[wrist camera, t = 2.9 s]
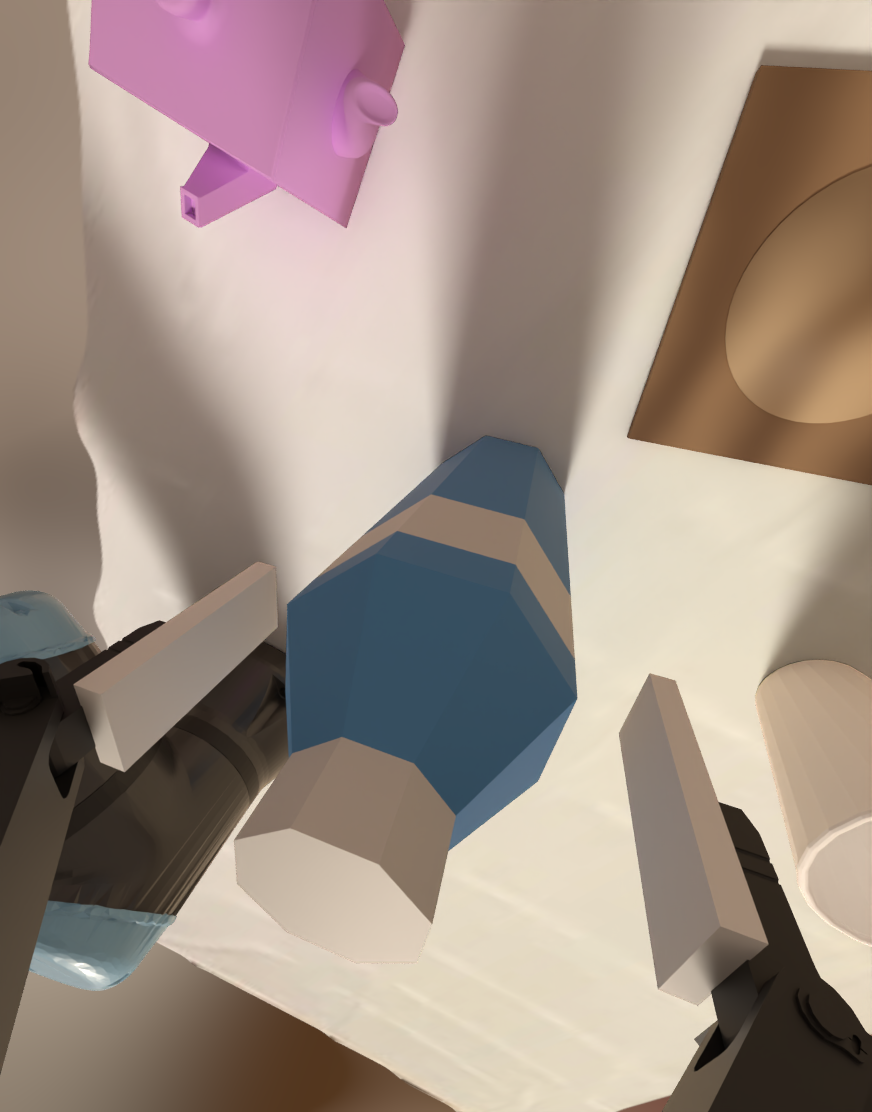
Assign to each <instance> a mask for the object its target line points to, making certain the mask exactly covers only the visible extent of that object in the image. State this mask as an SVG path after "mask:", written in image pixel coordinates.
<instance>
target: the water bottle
mask: <svg viewBox="0 0 872 1112" xmlns="http://www.w3.org/2000/svg"><path fill="white" fill-rule="evenodd" d="M285 693H286V713H287V733H288V753H289V759H288V760H287V762H286V763H285V765H284V766H283V768H282V769H281V771H280V772H279V774H278V775H277V777H276V778H275V780H274V781H273V783H272V784H271V786H270V787H269V789H268V790H267V792H266V793H265V795H264V796H263V798H262V799H261V801H260V802H259V804H258V805H257V807H256V808H255V810H254V811H253V813H252V814H251V816H250V817H249V819H248V820H247V822H246V823H245V825H244V826H243V828H242V829H241V831H240V832H239V834H238V835H237V837H236V838H235V840H234V847H235V861H236V874H237V884H238V885H239V886H240V887H241V888H242V889H243V890H244V891H245V892H246V893H247V894H248V895H249V896H250V897H251V898H252V899H253V900H254V901H255V902H256V903H257V904H258V905H259V906H260V907H261V908H262V909H263V910H264V911H265V912H267V913H268V914H269V915H270V916H271V917H272V918H273V919H274V920H275V921H276V922H277V923H278V924H279V925H280V926H281V927H282V928H283V929H284V930H285V931H286V932H288V933H290V934H292V935H294V936H297V937H299V938H301V939H303V940H306V941H308V942H310V943H312V944H314V945H317V946H319V947H321V948H323V949H325V950H328V951H330V952H332V953H334V954H337V955H339V956H341V957H343V958H345V959H348V960H350V961H352V962H354V963H417V962H418V960H419V957H420V955H421V952H422V949H423V947H424V944H425V942H426V939H427V936H428V934H429V931H430V929H431V926H432V923H433V918H434V914H435V909H436V904H437V900H438V895H439V891H440V886H441V882H442V877H443V872H444V868H445V863H446V859H447V854H448V851H449V850H450V849H452V848H453V847H454V846H455V845H457V844H458V843H459V842H461V841H462V840H463V839H464V838H466V837H467V836H468V835H470V834H471V833H472V832H473V831H475V830H476V829H477V828H479V827H480V826H481V825H482V824H484V823H485V822H486V821H488V820H489V819H490V818H491V817H493V816H494V815H495V814H497V813H498V812H499V811H500V810H502V809H503V808H504V807H505V806H507V805H508V804H509V803H511V802H512V801H513V800H514V799H516V798H517V797H518V796H520V795H521V794H522V793H523V792H525V791H526V790H527V789H529V788H530V787H531V786H532V785H534V784H535V783H536V782H538V780H539V778H540V776H541V774H542V772H543V769H544V767H545V765H546V763H547V761H548V759H549V757H550V755H551V753H552V751H553V748H554V746H555V744H556V742H557V740H558V738H559V736H560V734H561V732H562V730H563V727H564V725H565V723H566V721H567V719H568V717H569V715H570V713H571V711H572V709H573V706H574V704H575V702H576V700H577V686H576V671H575V655H574V640H573V624H572V609H571V593H570V578H569V562H568V547H567V531H566V516H565V500H564V493H563V491H562V489H561V488H560V486H559V484H558V482H557V480H556V479H555V477H554V475H553V473H552V472H551V470H550V468H549V466H548V464H547V463H546V461H545V459H544V457H543V456H542V454H541V452H540V450H539V448H536V447H532V446H527V445H523V444H519V443H515V442H511V441H507V440H503V439H498V438H494V437H490V436H484V437H483V438H481V439H479V440H478V441H476V442H475V443H473V444H472V445H470V446H468V447H467V448H465V449H464V450H462V451H461V452H459V453H457V454H456V455H454V456H453V457H451V458H450V459H448V460H446V461H445V462H443V463H442V464H441V465H440V466H439V467H438V468H437V469H435V470H434V471H433V472H432V473H431V474H430V475H429V476H428V477H427V478H426V479H424V480H423V481H422V482H421V483H420V484H419V485H418V486H417V487H416V488H415V489H413V490H412V491H411V492H410V493H409V494H408V495H407V496H406V497H405V498H404V499H402V500H401V501H400V502H399V503H398V504H397V505H396V506H395V507H394V508H393V509H391V510H390V511H389V512H388V513H387V514H386V515H385V516H384V517H383V518H382V519H380V520H379V521H378V522H377V523H376V524H375V525H374V526H373V527H372V528H371V529H369V530H368V531H367V532H366V533H365V534H364V535H363V536H362V537H361V538H360V539H358V540H357V541H356V542H355V543H354V544H353V545H352V546H351V547H350V548H349V549H347V550H346V551H345V552H344V553H343V554H342V555H341V556H340V557H339V558H338V559H336V560H335V561H334V562H333V563H332V564H331V565H330V566H329V567H328V568H327V569H325V570H324V571H323V572H322V573H321V574H320V575H319V576H318V577H317V578H316V579H314V580H313V581H312V582H311V583H310V584H309V585H308V586H307V587H306V588H305V589H303V590H302V591H301V592H300V593H299V594H298V595H297V596H296V597H295V598H294V599H292V600H291V601H290V602H289V603H288V604H287V638H286V685H285Z"/></svg>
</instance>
